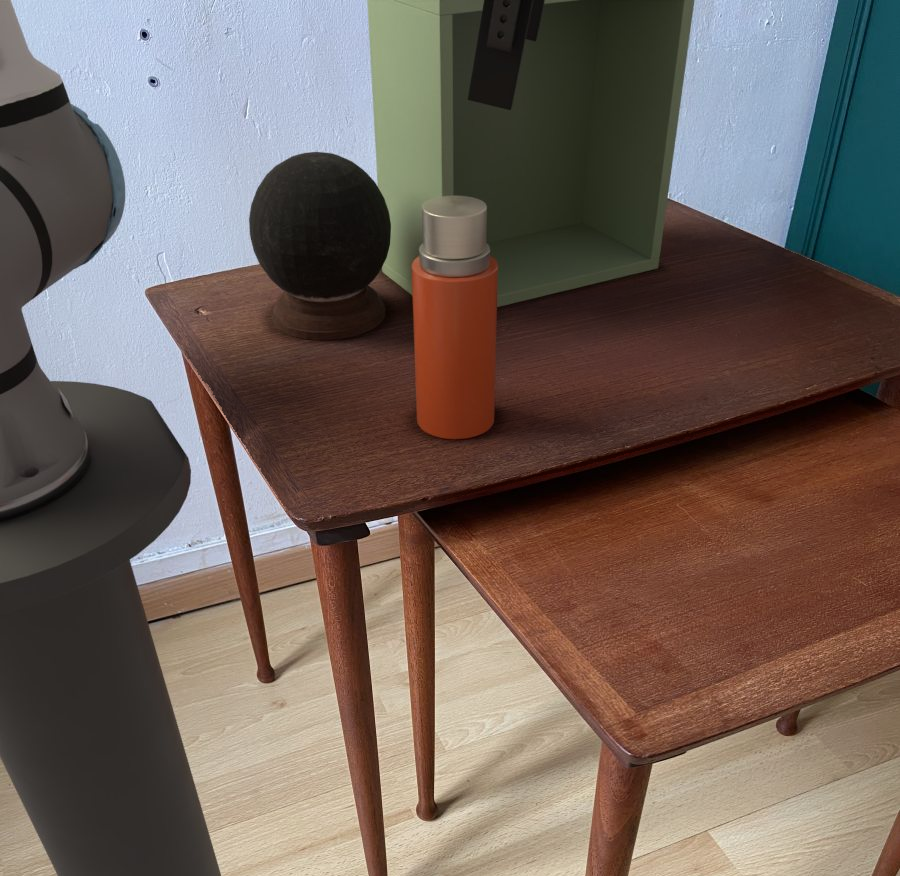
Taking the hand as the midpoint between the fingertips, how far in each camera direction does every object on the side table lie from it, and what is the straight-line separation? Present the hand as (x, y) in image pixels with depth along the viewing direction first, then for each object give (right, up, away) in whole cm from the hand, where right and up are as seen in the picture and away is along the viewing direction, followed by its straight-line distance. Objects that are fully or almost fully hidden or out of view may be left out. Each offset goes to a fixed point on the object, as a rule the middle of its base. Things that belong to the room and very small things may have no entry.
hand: (504, 67), depth 63 cm
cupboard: (+4, 0, +40) cm, 40 cm away
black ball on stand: (-16, -7, +32) cm, 36 cm away
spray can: (-3, -20, +16) cm, 26 cm away
